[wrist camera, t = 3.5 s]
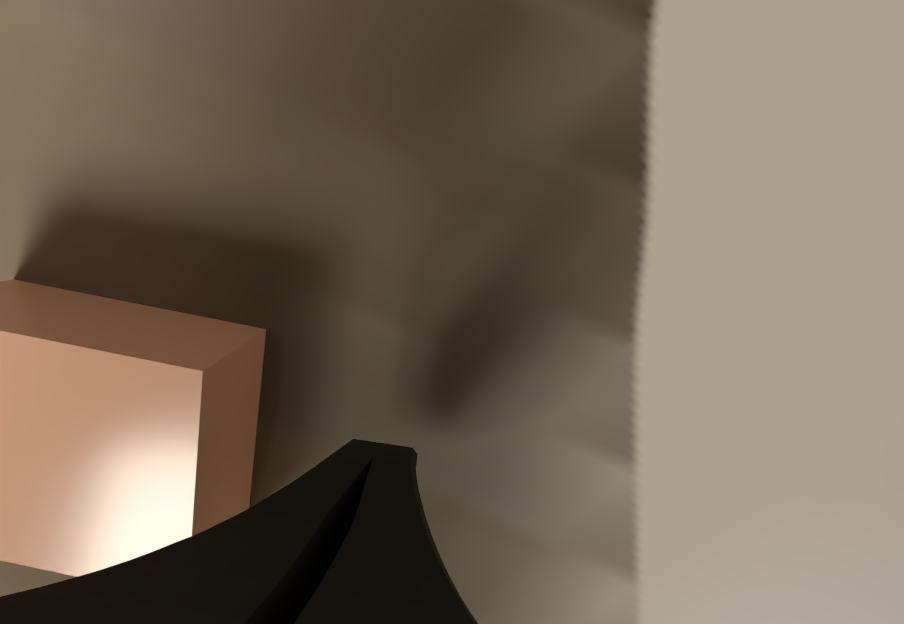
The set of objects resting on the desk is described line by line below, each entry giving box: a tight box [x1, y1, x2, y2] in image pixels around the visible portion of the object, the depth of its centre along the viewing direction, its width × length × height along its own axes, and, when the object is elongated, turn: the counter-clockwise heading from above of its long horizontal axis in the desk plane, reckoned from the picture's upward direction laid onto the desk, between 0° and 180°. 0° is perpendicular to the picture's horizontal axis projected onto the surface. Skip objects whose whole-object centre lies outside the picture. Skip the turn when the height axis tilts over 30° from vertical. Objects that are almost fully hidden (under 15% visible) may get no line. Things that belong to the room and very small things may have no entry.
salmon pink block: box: [0, 279, 266, 577], centre depth 12 cm, size 5×6×3 cm
